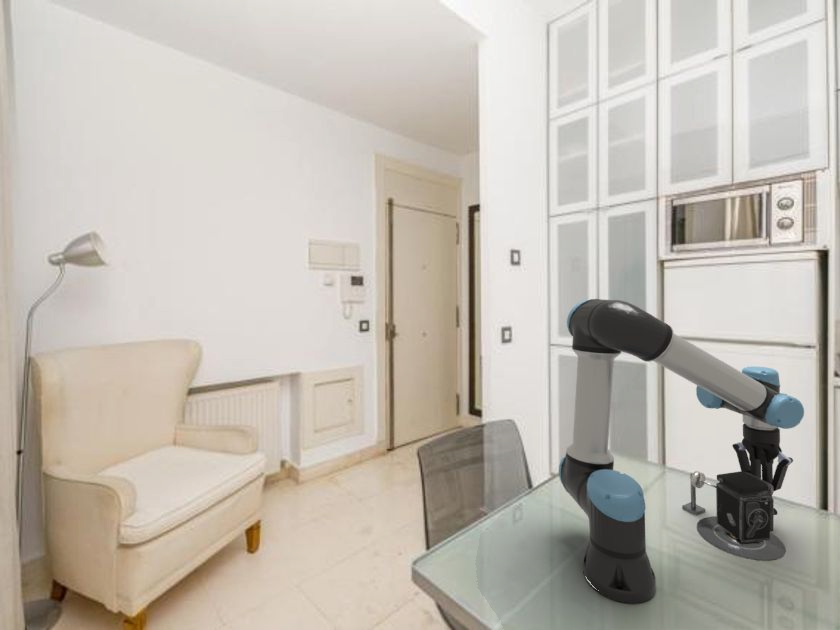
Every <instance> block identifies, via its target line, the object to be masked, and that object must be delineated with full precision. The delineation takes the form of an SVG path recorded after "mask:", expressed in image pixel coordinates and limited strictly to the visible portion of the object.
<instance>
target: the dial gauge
mask: <svg viewBox="0 0 840 630" xmlns="http://www.w3.org/2000/svg"><path fill="white" fill-rule="evenodd" d="M689 476H690V477H689V478H690V502H688V503H685V504H683V505H682V507H681V508H682V510H684V511H686V512H688V513H690V514H692V515H694V516H698V515H701V514H704V513H706V508H705V507H702V506H700V505H698V504H697V496H696V495H697V493H696V492H697V490H696V488H697V489H701V488H703V487H704V485H705V484H706V485H708V486H710V487H713V488H715V489H716V484H712V483H709V482H708V481H706V476H705V474H704V473H703V472H701V471H698V470H696V471H694V472H693V473H692V472H691V473H690V475H689Z"/></svg>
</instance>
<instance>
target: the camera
mask: <svg viewBox="0 0 840 630" xmlns="http://www.w3.org/2000/svg"><path fill="white" fill-rule="evenodd" d="M716 480H717V481H718V482H717V483H715V486H716V488H715V489H716V493H715V494H716V496H715V497H716V499H715V500H716V502H715V503H716V516H717V523H718V524H719V525H721V526H722V528H725V529H726V530H727V531H729V532H730V533H731V534H733V535H734V536H735V537H737V538H738V539H740V541H741V542H753V541H763V540H770V532H771V533H772V532H774V523H775V522H774V521H775V520H774V516H777V515H778V511H777V509H776V508H775V506H774V498H773V494H774V493H775V491H774V488H773V486H772V485H771V484H769V483H767V482H765V481H764V480H762V478H761V479H760V478H758V477H756V476H754V475H752V474H750V473H748V472H746V473H745V472H743V471H741V470H740V471H735V472H734V471H733V472H727V473H720V474H717V475H716ZM770 495H772V497H771V496H770Z"/></svg>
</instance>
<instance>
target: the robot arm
mask: <svg viewBox="0 0 840 630" xmlns="http://www.w3.org/2000/svg"><path fill="white" fill-rule="evenodd" d="M566 325H567V326H566V327H567V330H568V333H569V334H570V335H571V337H572V341H571V343H572V347H571V348H572V349H571V350H572V351H573V352H574V353H575V355H576V356H577V363H576V364H577V367H576V383H575V401H574V417H573V419H574V420H573V431H572V434H573V435H572V444H570V445H569V446H568V447H566V451H565V455H564V457H562V458H561V460H560V462H559V465H558V477H559V480H560V482H561V484H562V486H563V488H564V490H565V491H566V493H567V494H569V496H570V497H571V498H572V499H573V500H574V501H575V503H577V505H578V506H579V507H580V508H581V510H582V511H583V512H584V513H585V514H586V516H587V518H588V524H589V525H588V527H589V542H588V545H587V547H586V551H585V554H584V555H583V556H584V557H583V561H582V572H583V571H584V573H583V575H584V574H585V576H586V577H587V579H588V580H589V581H590V582H591V584H592V585H593V586H594V587H595V588H596V589H597V590H599V592H600V593H602V594H603V595H602V594H601V595H602V596H604V597H606V598H608V599H610V600H612V601H616V602H620V601H621V603H624V602H629V603H628V604H641V603H643V602H644V603H645V602H647V601H649V600H650V599H652V598H653V597H654V596H655V594H656V590H657V581H656V575H655V572H654V569H653V568H652V565H651V562H650V559H649V556H648V554H647V550H646V549H647V547H646V546H647V545H646V500H645V495H644V491H643V489H642V486H641V484H640V483H639V482H638V481H636V479H634V478H633V477H632V476H630V475H628V474H627V473H621V472H620V471H618V470H614V465H615V464H614V463H615V459H614V458H615V456H614V455H613V453H611V451H609V441H610V425H611V420H610V419H611V408H612V406H611V405H612V390H613V377H614V376H613V375H614V361H615V359H616V358H617V357H618V356H620V355H621V354H622V353H626V354H628V355H631V356H634V357H636V358H638V359H639V360H642V361H644V362H647V363H649V362H650V363H651V362H654V363H656V364H658V365H660V366H661V367H663V368H665V369H667V370H669V371H670V372H672V373H673V374H676V375H678V376H680V377H682V378H684V379H685V380H687V381H688V382H689V383H690V382H691V383H692V384H694V385H696V388H695V391H696V393H695V394H696V398H697V400H698V402H699V403H700V405H702V406H703V407H704V408H707V409H716V410H718V409H719V410H720V409H726V410H729V411H731V412H735V413H738V414H741V415H742V422H743V424H742V436H743V439H742V441H741V442H739V441H738V442H736V443H733V444H732V448H733V450H734V451H735V452H736V455H737V460H738V464H739V468H740V471H743V472H745V473H746V472H748V473H750V474H752V475H754V476H756V477H758V478H760V479H762V480H764V481H765V482H767V483H769V484H771V485H772V486H773V488H774V492H776V491H778V490H781V488H782V487H783V483H784V480H785V477H786V474H787V471H788V469H789V466H790V465H791V464H793V462H794V459H793V458H792V457H787V456H786V455H785V454H784V453H783V450H782V448H781V446H780V442H781V429H783V430H788V429H793V428H795V427H797V426H799V424H800V423H801V422H802V420H803V418H804V415H805V408H804V406H803V403H802V402H801V401H800V400H799V399H797V397H793V396H791V395H788V394H787V393H781V392H780V388H781V384H780V376H779V375H780V374H779V372H778V370H776V369H774V368H771V367H765V366H747V367H744V368H742V370H741V371H740V370H738V369H737V368H734V367H733V366H731V365H730V364H727V363H726V362H724V361H723V360H721V359H719V358H717V357H715V356H714V355H713V354H710V353H709V352H707V351H705V350H703V349H702V348H700V347H697V345H695V344H693V343H692V342H690V341H688V340H685V339H684V338H682V337H681V336H679V335H677V334H675V333H674V329H673V327H672V326H671V325H669V324H668V323H666V322H664V321H663V320H661V319H660V318H657V317H655V316H654V315H652V314H651V313H649V312H647V311H646V310H644V309H641V308H640V307H638V306H637V305H635V304H633V303H630V302H628V301H624V300H619V299H602V298H601V299H599V298H591V299H586V300H582V301H581V302H579V303H577V304H575V305H574V306H573V307H572V308H571V310H570V311H569V313H568V316H567V319H566ZM775 459H777V465H776V468H775V470H773V467H774V466H773V465H774V461H775ZM773 472H774V473H773ZM773 474H774V475H773ZM770 496H771V497H772V498H773V495H770ZM599 592H598V593H599ZM600 593H599V594H600Z"/></svg>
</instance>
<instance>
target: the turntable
mask: <svg viewBox="0 0 840 630" xmlns="http://www.w3.org/2000/svg"><path fill="white" fill-rule="evenodd" d="M696 530H697V532H698V534H699V535H700V537H702V539H703V540H705V541H706V542H707V543H709V544H710V545H711V546H714V547H715V548H717V549H719V550H720V551H723V552H726V553H728V554H730V555H732V556H733V555H734V556H736V557H739V558H744V559H747V560H748V559H749V560H754V561H763V562H764V561H774V560H778V558H779V559H781V558H782V557H784V556H785V554H786V546H785V544H784V542H783V541H782V540H781V539H780V538H779V537H778V536H777V535H775V534H774V533H772V532H770V540H763V541H753V542H741V541H740V539H738V538H737V537H735V536H734V535H733V534H731V533H730V532H729V531H727V530H726V529H725V528H722V526H721V525H719V524H718V523H717V515H714V516H706V517H703V518H701V519H699V520H698V521H697V523H696Z"/></svg>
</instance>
